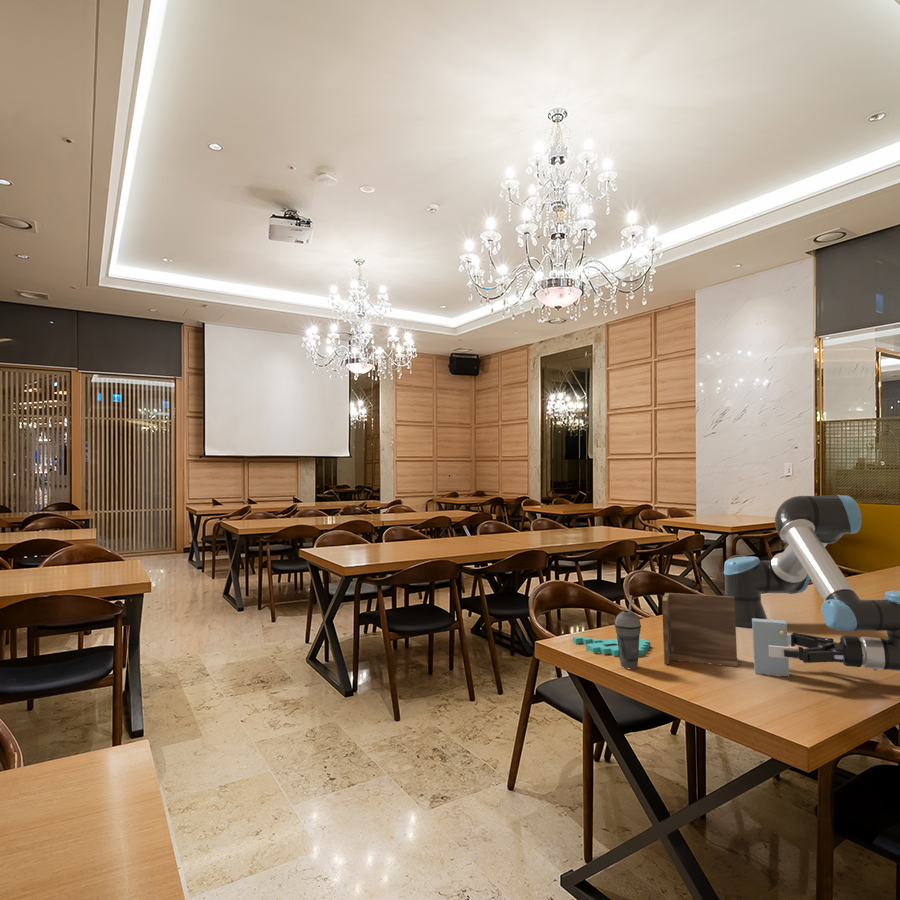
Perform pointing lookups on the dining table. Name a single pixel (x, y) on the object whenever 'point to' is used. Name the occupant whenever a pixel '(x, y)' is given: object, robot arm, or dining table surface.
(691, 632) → the cabinet
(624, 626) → the beverage cup
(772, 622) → the door
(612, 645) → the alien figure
